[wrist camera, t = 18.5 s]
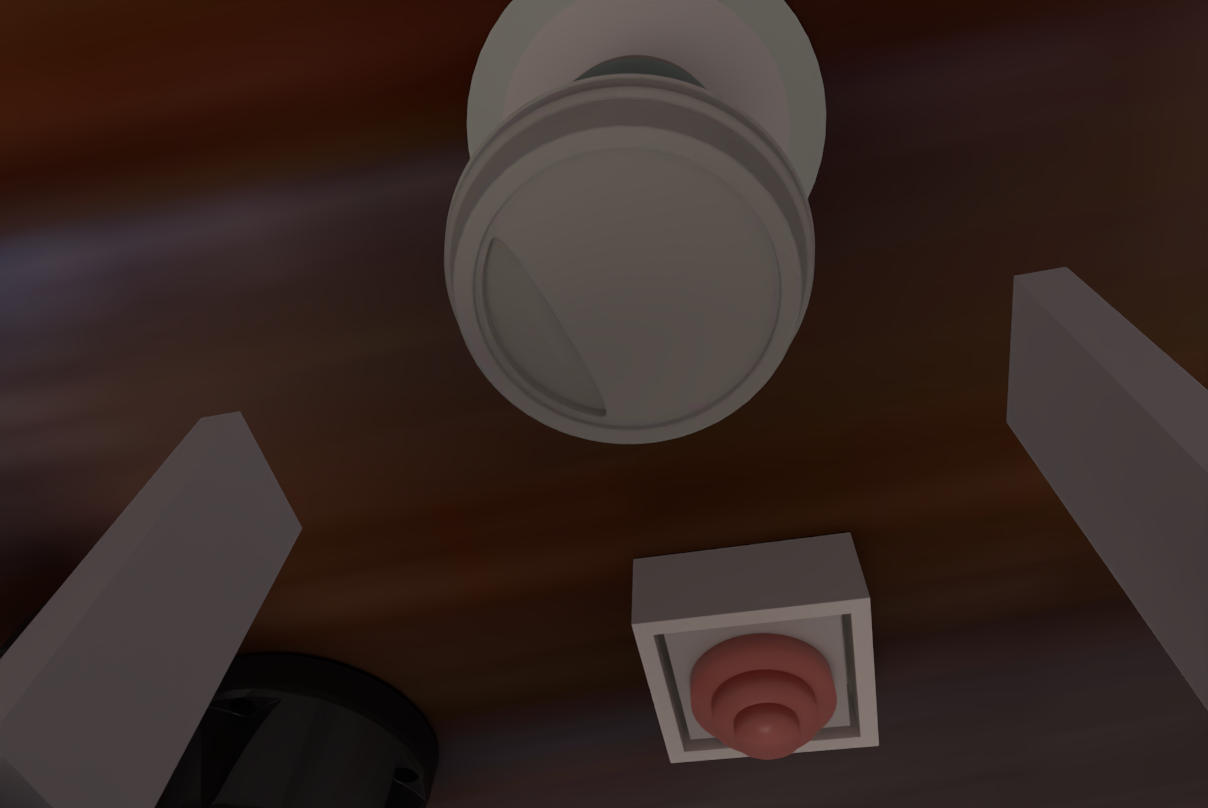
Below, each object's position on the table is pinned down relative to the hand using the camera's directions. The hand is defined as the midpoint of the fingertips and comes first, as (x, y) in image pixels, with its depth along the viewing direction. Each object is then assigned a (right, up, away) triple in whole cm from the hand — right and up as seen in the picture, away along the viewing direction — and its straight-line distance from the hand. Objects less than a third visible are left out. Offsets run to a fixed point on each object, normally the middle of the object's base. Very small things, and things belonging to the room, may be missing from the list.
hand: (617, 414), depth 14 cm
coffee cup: (+1, +9, +14) cm, 16 cm away
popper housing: (+7, -11, +26) cm, 29 cm away
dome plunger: (+7, -11, +25) cm, 28 cm away
